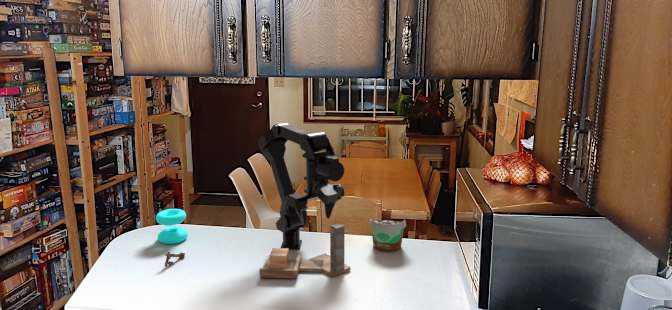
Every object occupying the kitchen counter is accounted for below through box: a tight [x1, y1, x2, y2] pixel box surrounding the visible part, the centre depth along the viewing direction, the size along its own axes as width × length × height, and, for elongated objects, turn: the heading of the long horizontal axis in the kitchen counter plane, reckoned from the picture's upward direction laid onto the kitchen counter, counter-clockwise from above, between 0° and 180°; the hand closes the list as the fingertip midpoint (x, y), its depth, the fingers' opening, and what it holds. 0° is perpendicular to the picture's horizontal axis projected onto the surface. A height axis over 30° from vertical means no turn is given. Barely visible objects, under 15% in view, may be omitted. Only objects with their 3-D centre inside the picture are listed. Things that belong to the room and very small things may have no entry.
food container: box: [368, 218, 407, 253], centre depth 166 cm, size 12×6×10 cm, turn 80°
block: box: [269, 247, 290, 269], centre depth 152 cm, size 5×5×5 cm
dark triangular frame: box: [164, 251, 186, 268], centre depth 158 cm, size 2×8×4 cm, turn 157°
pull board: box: [258, 222, 352, 279], centre depth 152 cm, size 21×24×15 cm
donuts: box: [155, 208, 189, 245], centre depth 175 cm, size 10×10×10 cm
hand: (316, 221), depth 157 cm, fingers open, 9 cm apart
